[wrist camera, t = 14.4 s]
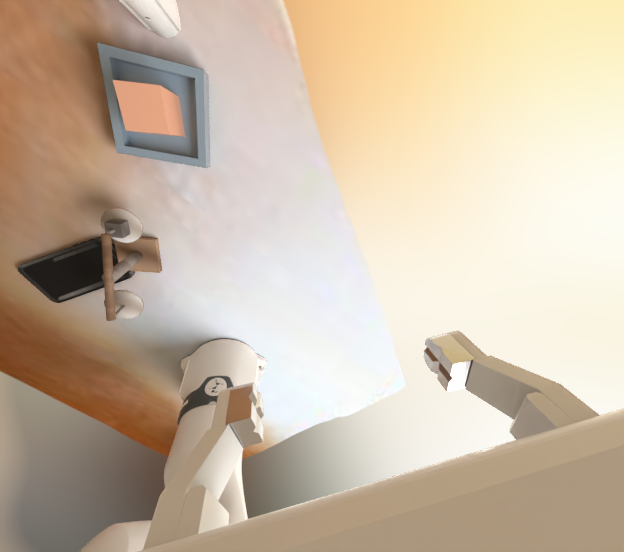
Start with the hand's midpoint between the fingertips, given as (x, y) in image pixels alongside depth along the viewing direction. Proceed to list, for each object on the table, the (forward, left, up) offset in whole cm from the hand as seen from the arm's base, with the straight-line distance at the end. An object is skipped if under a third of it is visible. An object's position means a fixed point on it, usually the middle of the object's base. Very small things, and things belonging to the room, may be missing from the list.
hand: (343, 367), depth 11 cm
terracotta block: (+10, +18, -33) cm, 39 cm away
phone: (-15, +34, -34) cm, 50 cm away
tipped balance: (-11, +24, -34) cm, 43 cm away
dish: (+10, +18, -34) cm, 40 cm away
